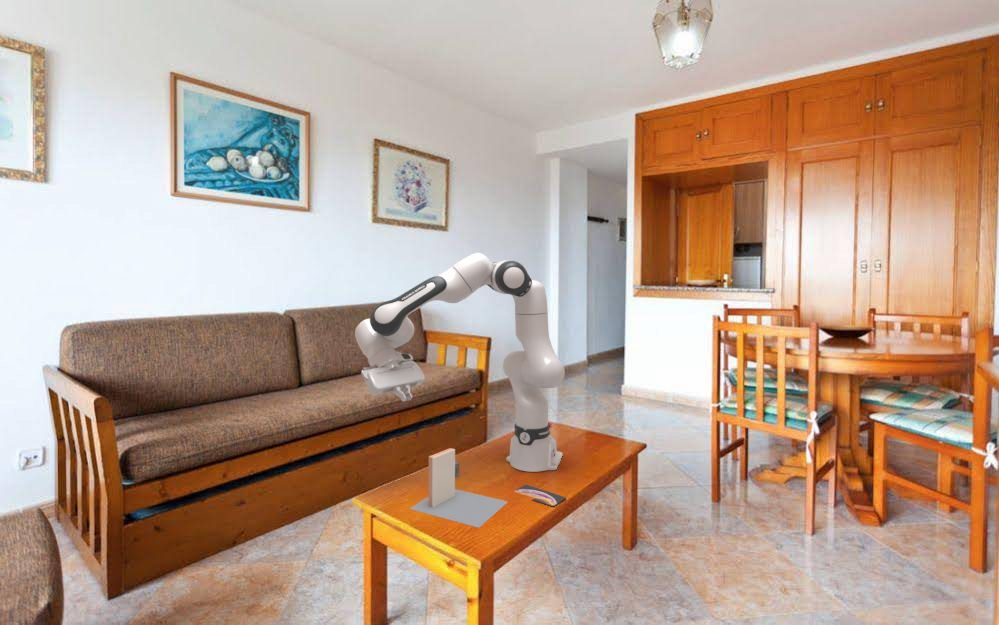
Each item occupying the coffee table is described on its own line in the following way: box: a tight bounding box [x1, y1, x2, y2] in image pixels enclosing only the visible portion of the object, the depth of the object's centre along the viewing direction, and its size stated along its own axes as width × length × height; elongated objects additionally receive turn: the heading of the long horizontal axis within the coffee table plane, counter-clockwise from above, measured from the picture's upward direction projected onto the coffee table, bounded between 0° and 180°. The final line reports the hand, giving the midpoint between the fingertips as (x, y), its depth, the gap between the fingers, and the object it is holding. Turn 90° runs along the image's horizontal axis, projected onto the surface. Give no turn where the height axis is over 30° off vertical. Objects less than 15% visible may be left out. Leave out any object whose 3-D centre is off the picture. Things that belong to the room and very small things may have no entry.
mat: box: [409, 488, 508, 528], centre depth 140 cm, size 17×22×1 cm
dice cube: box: [455, 460, 460, 479], centre depth 159 cm, size 5×5×5 cm
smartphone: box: [514, 484, 567, 508], centre depth 147 cm, size 8×1×15 cm
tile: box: [427, 447, 456, 507], centre depth 142 cm, size 2×9×14 cm, turn 143°
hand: (407, 399), depth 150 cm, fingers closed
